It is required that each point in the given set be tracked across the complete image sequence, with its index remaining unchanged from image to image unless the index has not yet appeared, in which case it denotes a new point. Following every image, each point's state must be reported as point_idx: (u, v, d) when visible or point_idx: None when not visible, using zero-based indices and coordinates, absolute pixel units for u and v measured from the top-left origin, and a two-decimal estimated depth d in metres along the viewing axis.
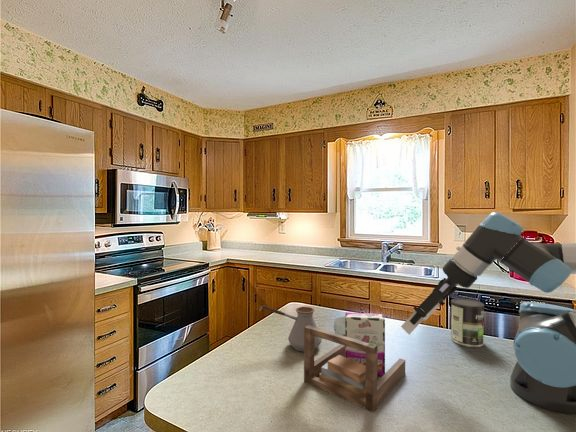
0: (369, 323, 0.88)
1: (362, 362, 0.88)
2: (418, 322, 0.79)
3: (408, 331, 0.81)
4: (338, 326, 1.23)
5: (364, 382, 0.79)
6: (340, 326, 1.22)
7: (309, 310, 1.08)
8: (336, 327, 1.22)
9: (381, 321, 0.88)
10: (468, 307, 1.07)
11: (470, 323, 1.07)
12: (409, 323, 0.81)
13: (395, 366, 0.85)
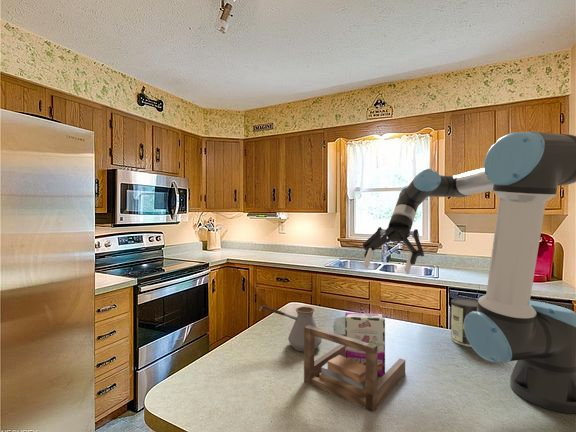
0: (369, 323, 0.88)
1: (362, 362, 0.88)
2: None
3: None
4: (337, 326, 1.23)
5: (364, 382, 0.79)
6: (339, 326, 1.22)
7: (309, 310, 1.08)
8: (336, 327, 1.23)
9: (381, 321, 0.88)
10: (468, 307, 1.07)
11: None
12: None
13: (395, 366, 0.85)
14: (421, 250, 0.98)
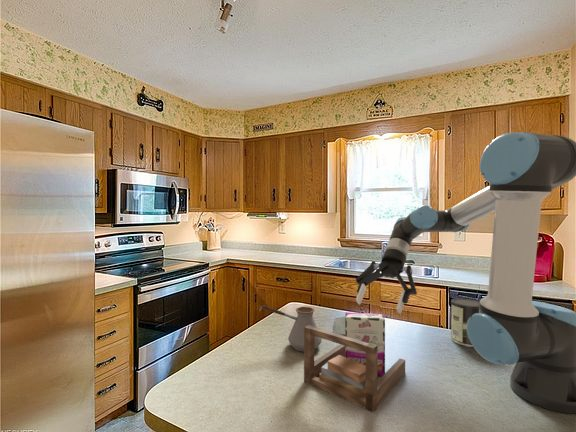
0: (369, 323, 0.88)
1: (362, 362, 0.88)
2: None
3: None
4: (336, 326, 1.23)
5: (364, 382, 0.79)
6: (338, 326, 1.23)
7: (309, 310, 1.08)
8: (335, 326, 1.23)
9: (381, 321, 0.88)
10: (468, 307, 1.07)
11: None
12: None
13: (395, 366, 0.85)
14: (413, 289, 0.96)
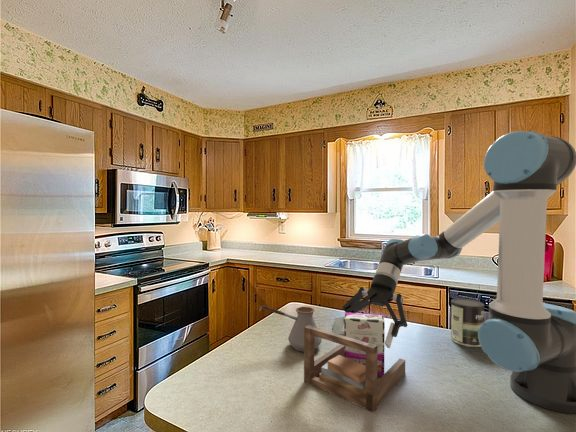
0: (369, 324, 0.87)
1: (361, 363, 0.88)
2: None
3: None
4: (335, 326, 1.23)
5: (364, 382, 0.79)
6: (338, 326, 1.23)
7: (309, 310, 1.08)
8: (334, 326, 1.23)
9: (380, 323, 0.86)
10: (468, 307, 1.07)
11: (470, 323, 1.07)
12: None
13: (395, 366, 0.85)
14: (403, 321, 0.89)
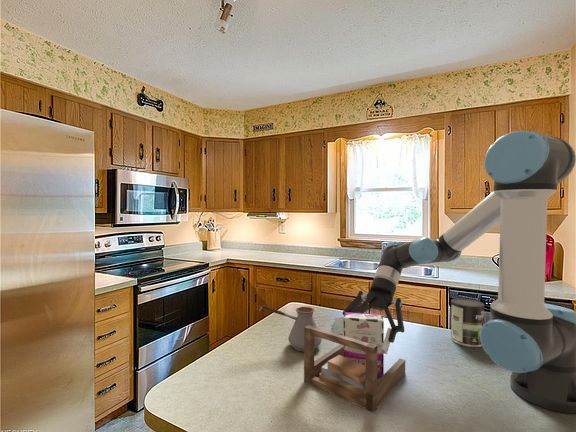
0: (368, 324, 0.87)
1: (360, 362, 0.88)
2: None
3: None
4: (335, 325, 1.24)
5: (364, 382, 0.79)
6: (337, 326, 1.23)
7: (309, 310, 1.08)
8: (334, 326, 1.23)
9: (379, 322, 0.86)
10: (468, 307, 1.07)
11: (470, 323, 1.07)
12: None
13: (395, 366, 0.85)
14: (400, 326, 0.88)
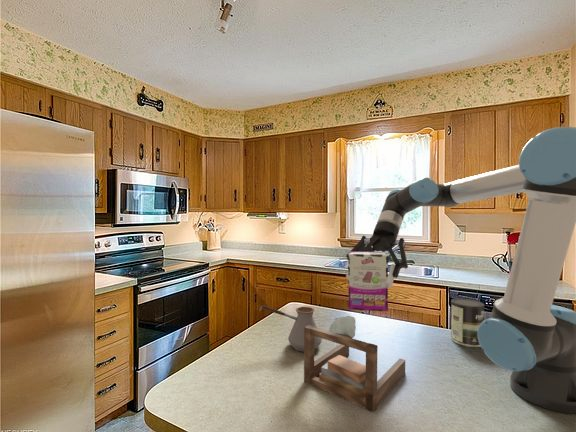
0: (372, 259, 0.88)
1: (365, 298, 0.89)
2: None
3: None
4: (334, 325, 1.24)
5: (364, 382, 0.79)
6: (336, 325, 1.23)
7: (309, 310, 1.08)
8: (332, 326, 1.24)
9: (384, 257, 0.88)
10: (468, 307, 1.07)
11: (470, 323, 1.07)
12: None
13: (395, 366, 0.85)
14: (404, 262, 0.89)
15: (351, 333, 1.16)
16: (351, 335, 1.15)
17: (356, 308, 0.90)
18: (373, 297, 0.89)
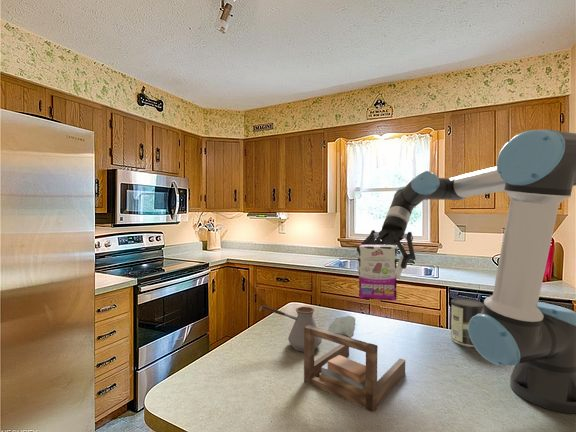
0: (382, 251, 0.94)
1: (375, 288, 0.95)
2: None
3: None
4: (333, 325, 1.24)
5: (364, 382, 0.79)
6: (335, 325, 1.24)
7: (309, 310, 1.08)
8: (332, 325, 1.24)
9: (393, 249, 0.93)
10: (468, 307, 1.07)
11: None
12: None
13: (395, 366, 0.85)
14: (412, 254, 0.94)
15: (349, 333, 1.16)
16: (349, 335, 1.15)
17: (366, 297, 0.96)
18: (382, 287, 0.94)
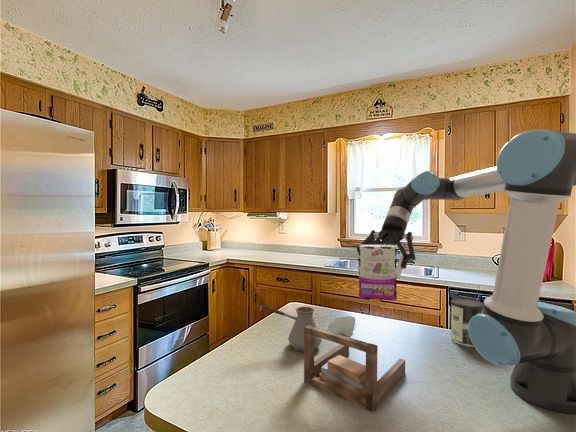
0: (382, 251, 0.94)
1: (375, 288, 0.95)
2: None
3: None
4: (332, 324, 1.25)
5: (364, 382, 0.79)
6: (334, 325, 1.24)
7: (309, 310, 1.08)
8: (331, 325, 1.24)
9: (393, 249, 0.93)
10: (468, 307, 1.07)
11: None
12: None
13: (395, 366, 0.85)
14: (412, 254, 0.94)
15: (348, 333, 1.16)
16: (348, 335, 1.15)
17: (366, 297, 0.96)
18: (382, 287, 0.94)
